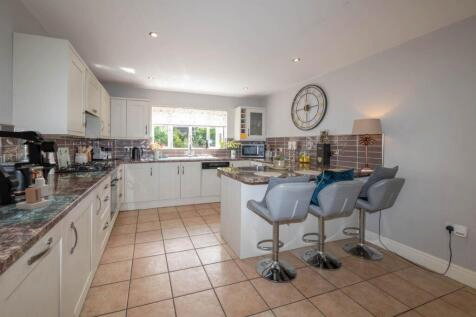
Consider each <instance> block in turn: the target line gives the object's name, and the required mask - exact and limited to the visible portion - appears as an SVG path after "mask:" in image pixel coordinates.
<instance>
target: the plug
mask: <svg viewBox="0 0 476 317" xmlns="http://www.w3.org/2000/svg"><path fill="white" fill-rule="evenodd" d="M24 190H25V202H26V203H27V204H34V203H38V202H42V198H43V197H41V188H37V187H33V188H29V187H27V188H25V189H24Z"/></svg>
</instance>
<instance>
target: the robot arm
mask: <svg viewBox="0 0 476 317" xmlns="http://www.w3.org/2000/svg"><path fill="white" fill-rule="evenodd" d="M0 138H8V139H9V138H10V139H21V140H23V141H24V140H25V142H23V143H22V145H23V146H27V154H26V157H27V158H28V161H19V162H15V163H14V164H13V169H15V168H16V170H18V171H19V172H20V173H21V174H22V175H23V176H24V178H25V179H26V181H28V180H30V169H31V167H42V168H41V169H42V170H41V171H42V176H43V177H42V178H44V180H45V181H46V180H47V178H48V176H49V173H50V171H51V170H52V169H54V168H57V163H56V161H50V158H48V157H45V155H44V154H43V153H45V154H47V153H49V154H50V153H54V154H55V153H58V152H59V146H58V144H57V141H56V140H52V141H48V140H46V139H45V138H44V137H43V134H42V132H40V131H38V130H24V131H11V130H0ZM42 152H43V153H42ZM19 186H20V179H18V178H17V175H15V174H9V173H8V172H7V171H6V170H5V168H4V167H3V166H2V165H1V163H0V206H8V205H12V204H14V203H17V202H18V201H17V200H16V194H15V191H16V190H17V188H19Z"/></svg>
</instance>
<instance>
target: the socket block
mask: <svg viewBox="0 0 476 317" xmlns="http://www.w3.org/2000/svg"><path fill="white" fill-rule="evenodd" d="M15 205H16V206H15V207H16V209H17V210H18V209H20V210H30V211H32V210H35V209H36V210H37V209H39V208H42V207H43V208H44V207H47V206H51V205H52V200H51V199H42V202H38V203H34V204H27V203H26V201H22V202H18V203H17V202H16V204H15Z"/></svg>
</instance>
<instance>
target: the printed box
mask: <svg viewBox="0 0 476 317" xmlns="http://www.w3.org/2000/svg"><path fill="white" fill-rule="evenodd" d="M33 187H37V188H41V198H44V197H49V196H50V186H49V184H46V180H44V177H34V178H32V179H31V185H28V188H33Z"/></svg>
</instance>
